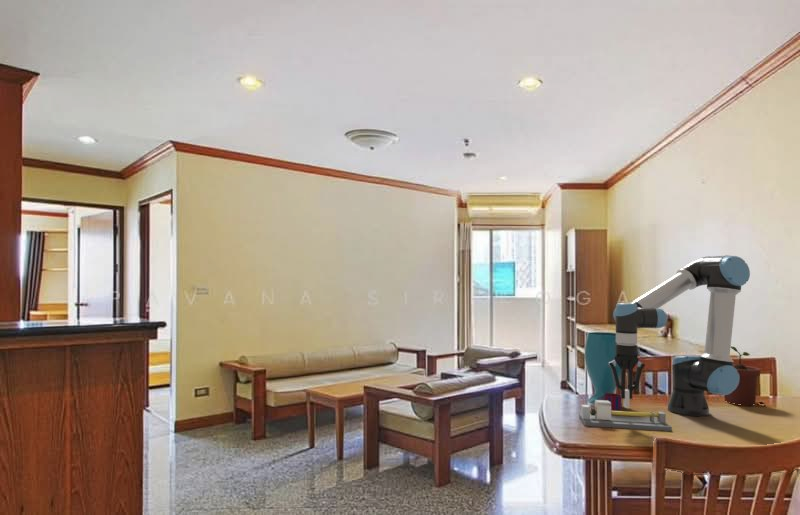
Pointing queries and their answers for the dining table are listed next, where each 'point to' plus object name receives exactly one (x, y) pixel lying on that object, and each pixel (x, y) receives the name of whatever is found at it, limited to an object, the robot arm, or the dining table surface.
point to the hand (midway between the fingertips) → (626, 407)
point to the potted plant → (744, 384)
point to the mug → (613, 401)
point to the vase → (601, 363)
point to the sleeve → (603, 409)
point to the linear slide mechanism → (625, 420)
